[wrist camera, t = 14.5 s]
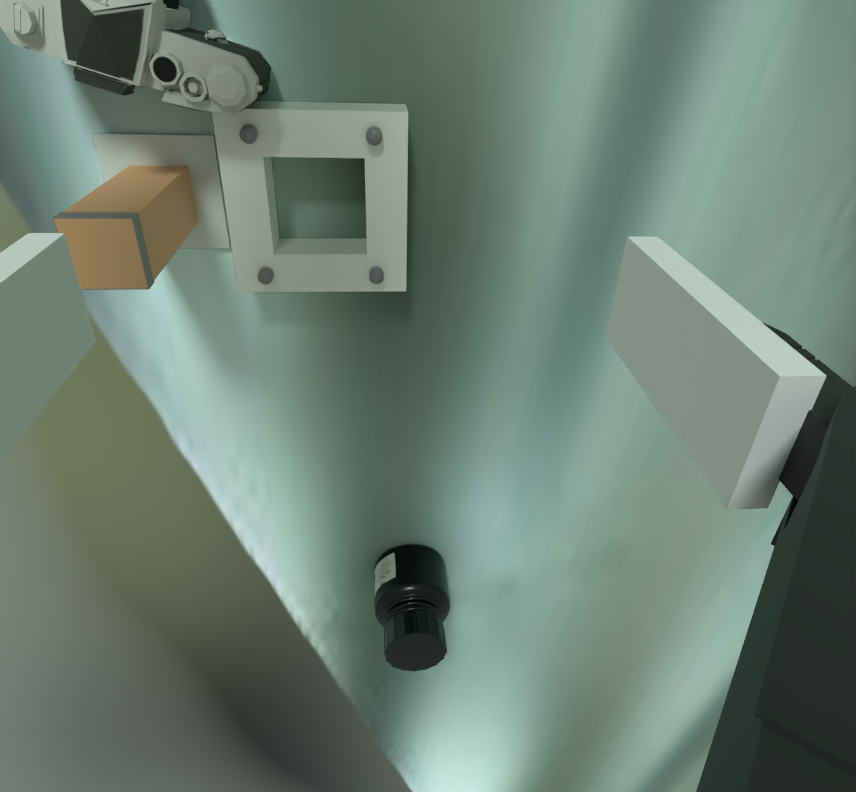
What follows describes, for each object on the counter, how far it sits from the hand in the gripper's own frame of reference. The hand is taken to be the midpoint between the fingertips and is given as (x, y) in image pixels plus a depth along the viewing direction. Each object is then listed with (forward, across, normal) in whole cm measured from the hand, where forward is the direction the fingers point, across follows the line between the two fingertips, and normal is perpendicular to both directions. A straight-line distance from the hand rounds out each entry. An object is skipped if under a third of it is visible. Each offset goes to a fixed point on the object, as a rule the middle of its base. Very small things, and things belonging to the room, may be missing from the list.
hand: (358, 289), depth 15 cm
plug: (+38, -16, -8) cm, 42 cm away
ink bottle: (+39, +4, -54) cm, 66 cm away
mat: (+39, -16, -8) cm, 43 cm away
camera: (+39, -14, +4) cm, 42 cm away
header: (+39, -4, -8) cm, 40 cm away
